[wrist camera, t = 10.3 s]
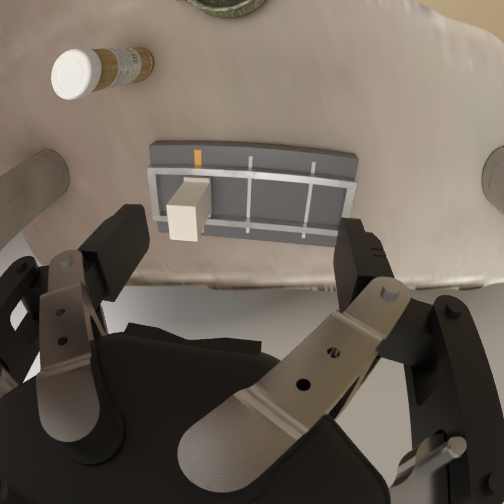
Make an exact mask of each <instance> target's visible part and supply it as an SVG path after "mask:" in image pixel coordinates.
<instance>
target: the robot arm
mask: <svg viewBox="0 0 504 504" xmlns="http://www.w3.org/2000/svg"><path fill="white" fill-rule="evenodd" d="M482 186H483V191H484V194H485V196H486V197H487V199H488V200H489V201H490V202H491V203H492V204H493V205H494V206H495V207H496V208H497V209H498V210H499V211H500V212H501V213H502V214H503V215H504V147H501V148H499V149H497V150H496V151H494V152H493V153H492V155H491V156H490V157H489V159H488V160H487V162H486V165H485V167H484V171H483V176H482ZM149 243H150V237H149V232H148V226H147V221H146V216H145V210H144V207H143V206H142V205H141V204H125V205H123V206H122V207H121V208H120V209H119V210H118V211H117V212H116V213H115V214H114V215H113V216H112V217H110V218H108V219H107V220H105V221H104V222H103V223H102V224H101V225H100V226H99V227H98V229H96V230H95V231H94V232H93V234H91V235H90V236H89V238H88V239H87V240H86V241H85V242H84V243H83V244H82V245H81V246H80V247H79V248H78V250H67V251H64V252H62V253H60V254H58V255H57V256H55V257H54V258H53V259H52V260H51V262H50V264H49V265H48V266H41V267H38V266H37V263H36V261H35V259H34V257H32V256H25V257H22V258H20V259H18V260H16V261H15V262H13V263H12V264H11V265H10V267H9V268H8V269H7V270H6V271H5V272H4V273H3V275H2V276H1V277H0V504H502V503H503V502H504V418H503V413H502V409H501V405H500V401H499V397H498V393H497V389H496V385H495V382H494V379H493V375H492V372H491V369H490V366H489V362H488V359H487V356H486V353H485V350H484V347H483V345H482V342H481V339H480V337H479V334H478V331H477V329H476V326H475V323H474V321H473V319H472V316H471V314H470V311H469V309H468V308H467V306H466V305H465V304H464V303H463V302H462V301H461V300H459V299H458V298H456V297H453V296H449V295H442V296H439V297H437V298H436V300H435V302H434V304H433V305H431V304H427V303H424V302H421V301H417V300H415V299H412V298H411V294H410V291H409V289H408V288H407V287H406V286H405V285H404V284H403V283H402V282H400V281H399V280H397V279H395V278H394V275H393V272H392V270H391V267H390V264H389V262H388V259H387V258H386V254H385V251H383V246H382V244H381V241H380V240H379V239H378V238H377V237H376V236H375V235H374V234H373V233H370V232H365V230H364V227H363V224H362V222H361V220H360V219H355V218H345V217H342V218H341V220H340V224H339V229H338V235H337V240H336V245H335V251H334V261H333V264H334V273H335V280H336V287H337V294H338V302H339V310H340V311H338V310H335V311H334V312H332V313H331V314H330V315H329V316H328V317H327V318H326V319H325V320H324V321H323V322H322V323H321V324H320V325H319V326H318V327H317V328H316V329H315V330H314V331H313V332H312V333H311V334H310V335H309V336H308V337H306V338H305V339H304V341H302V342H301V343H300V344H299V345H298V346H297V347H296V348H295V349H294V350H293V351H292V352H290V353H289V354H288V355H287V356H286V357H285V358H284V359H283V360H282V361H280V360H278V359H277V358H275V357H273V356H271V355H269V354H266V353H263V352H261V343H262V342H261V341H253V340H243V339H234V338H214V339H200V340H187V339H184V338H182V337H179V336H176V335H174V334H172V333H169V332H167V331H165V330H162V329H160V328H156V327H151V326H145V325H140V324H135V323H128V325H127V328H126V329H125V331H124V332H119V333H112V334H108V330H107V325H106V321H105V317H104V312H103V308H102V306H101V302H102V300H105V301H110V302H115V300H116V299H117V297H118V295H119V293H120V292H121V290H122V289H123V287H124V286H125V284H126V283H127V281H128V279H129V278H130V276H131V275H132V273H133V272H134V270H135V269H136V267H137V266H138V264H139V262H140V261H141V259H142V258H143V256H144V255H145V253H146V252H147V250H148V248H149ZM20 300H21V301H22V303H23V305H24V306H25V308H26V310H27V314H26V315H25V317H24V318H23V320H22V321H21V323H20V325H19V326H18V328H17V329H16V331H15V330H14V328H13V327H12V325H11V322H10V316H11V313H12V311H13V310H14V308H15V307H16V306H17V304H18V303H19V301H20ZM39 351H40V365H41V370H40V372H39V373H38V374H37V375H36V376H34V377H32V378H31V379H29V380H27V381H26V382H24V383H23V381H24V379H25V377H26V375H27V373H28V371H29V370H30V368H31V366H32V364H33V362H34V360H35V358H36V356H37V355H38V352H39ZM382 357H383V358H386V359H389V360H393V361H397V362H400V363H403V364H404V370H405V378H406V385H407V393H408V401H409V411H410V422H411V435H412V450H411V451H409V452H408V453H407V454H406V455H405V456H404V457H403V458H402V459H401V461H400V463H399V466H398V471H397V476H396V479H395V481H394V483H393V484H392V485H391V487H390V488H388V486H387V484H386V482H385V480H384V478H383V477H382V475H381V474H380V473H379V472H378V471H377V469H376V468H375V467H374V466H373V465H372V464H371V463H370V462H369V460H368V459H367V458H366V457H365V456H364V455H363V453H361V451H360V450H359V449H358V448H357V447H356V445H355V444H354V443H353V442H352V441H351V439H350V438H349V437H348V436H347V435H346V433H345V432H344V431H343V430H342V429H341V427H340V426H339V425H338V424H337V423H336V421H335V420H336V419H337V418H338V417H339V416H340V414H341V413H342V412H343V411H344V409H345V408H346V406H347V405H348V404H349V402H350V401H351V399H352V398H353V397H354V395H355V394H356V392H357V391H358V390H359V388H360V387H361V386H362V384H363V383H364V382H365V380H366V379H367V378H368V376H369V375H370V373H371V372H372V371H373V369H374V368H375V366H376V365H377V364H378V362H379V360H380V359H381V358H382ZM22 383H23V384H22Z"/></svg>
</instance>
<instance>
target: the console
mask: <svg viewBox="0 0 504 504" xmlns="http://www.w3.org/2000/svg"><path fill="white" fill-rule="evenodd" d="M149 149H150V161H151V165H150V166H148V167H147V173H148V183H149V191H150V200H151V207H152V215H153V221H157V223H158V230H159V232H167V233H169V225H168V217H167V208H166V205H167V203H168V202H169V201H170V199H171V198H172V197H173V195H174V194H175V193H176V191H177V190H178V189H179V187H180V186H181V185H182V183H183V182H184V176H185V175H201V176H211V198H212V214H211V217H208V219H207V222H206V224H205V226H204V228H203V231H202V233H201V235H204V236H216V237H227V238H239V239H250V240H262V241H273V242H284V243H295V244H305V245H316V246H327V247H335V245H336V240H337V235H338V229H339V224H340V220H341V218H342V217H345V218H350V214H351V210H352V205H353V200H354V196H355V191H356V186H357V182H356V180H355V176H356V170H357V165H358V158H357V157H356V155H355V154H349V153H342V152H335V151H328V150H320V149H312V148H303V147H293V146H282V145H271V144H257V143H240V142H217V141H155V142H154V143H152V144H151V145H149Z"/></svg>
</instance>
